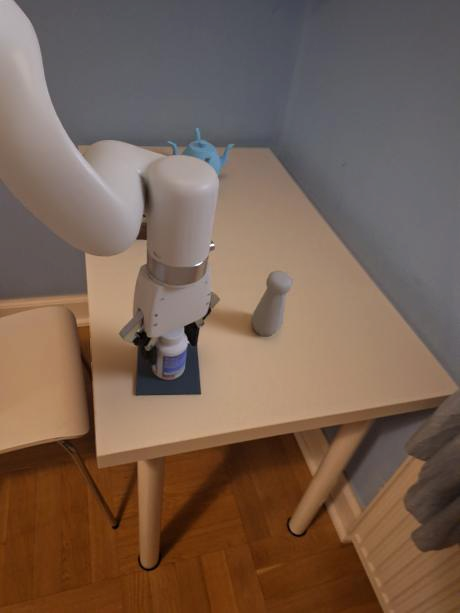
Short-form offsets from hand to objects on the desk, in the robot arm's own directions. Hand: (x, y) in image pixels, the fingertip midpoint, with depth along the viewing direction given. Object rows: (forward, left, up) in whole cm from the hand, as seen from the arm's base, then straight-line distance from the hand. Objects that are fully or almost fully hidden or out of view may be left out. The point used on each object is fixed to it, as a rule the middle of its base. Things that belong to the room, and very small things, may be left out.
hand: (170, 348), depth 63 cm
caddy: (-4, +39, -5) cm, 40 cm away
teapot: (+9, +64, -6) cm, 65 cm away
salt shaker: (+18, +9, -6) cm, 21 cm away
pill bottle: (0, 0, -5) cm, 5 cm away
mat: (0, 0, -5) cm, 5 cm away
